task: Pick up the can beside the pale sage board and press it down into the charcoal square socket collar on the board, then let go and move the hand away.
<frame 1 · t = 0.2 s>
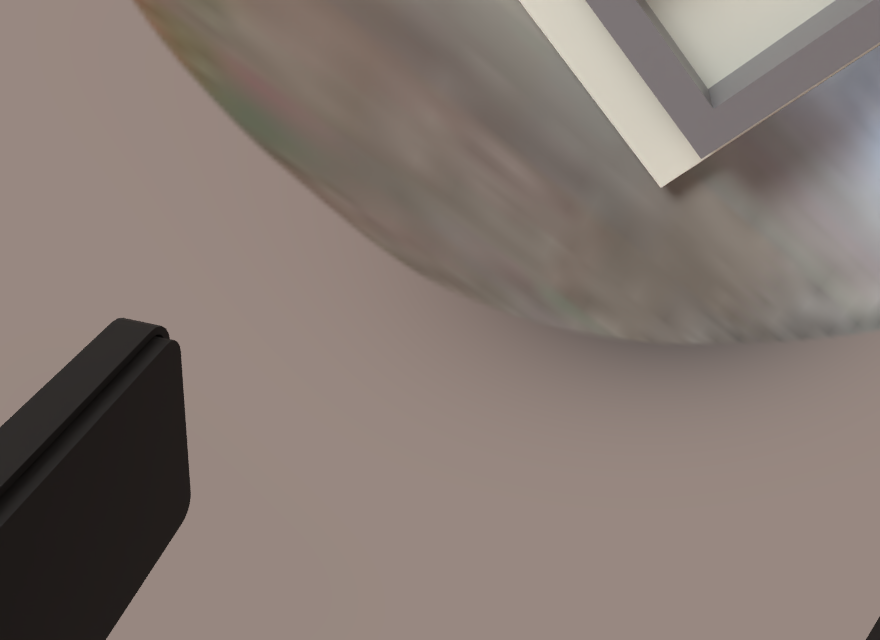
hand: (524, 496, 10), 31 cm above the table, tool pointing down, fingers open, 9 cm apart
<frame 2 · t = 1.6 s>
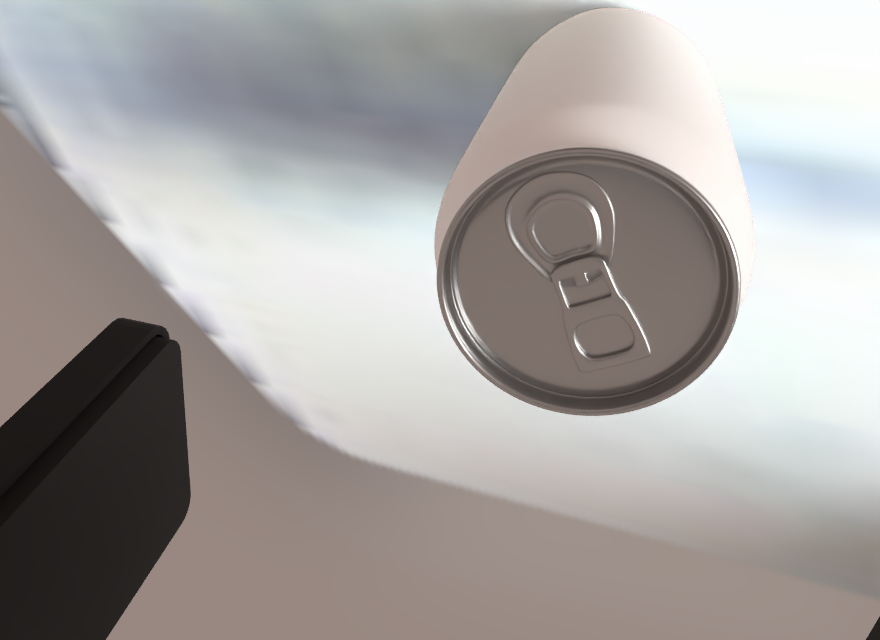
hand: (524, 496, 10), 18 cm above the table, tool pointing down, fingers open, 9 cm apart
can: (608, 112, 26), on the table
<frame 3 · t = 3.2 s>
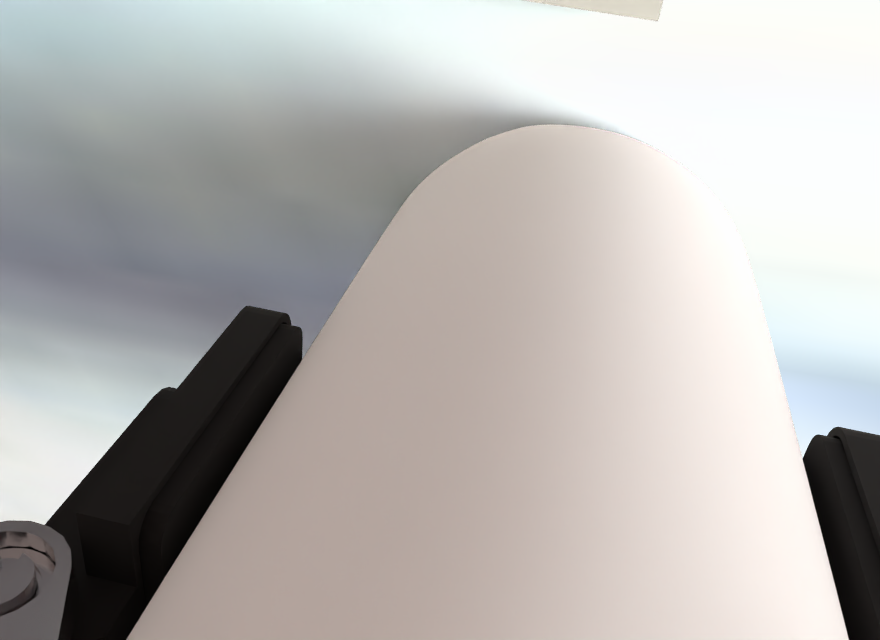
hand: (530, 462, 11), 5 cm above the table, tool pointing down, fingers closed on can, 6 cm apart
can: (560, 288, 15), on the table, touching gripper
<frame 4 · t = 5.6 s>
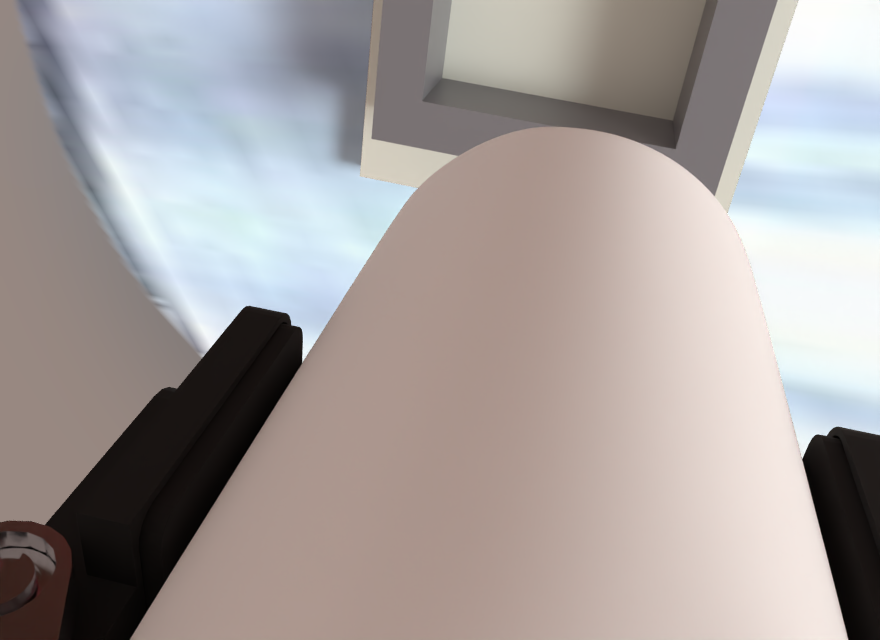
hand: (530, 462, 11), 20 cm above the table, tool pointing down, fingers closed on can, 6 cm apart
can: (560, 290, 15), point 15 cm above the table, touching gripper
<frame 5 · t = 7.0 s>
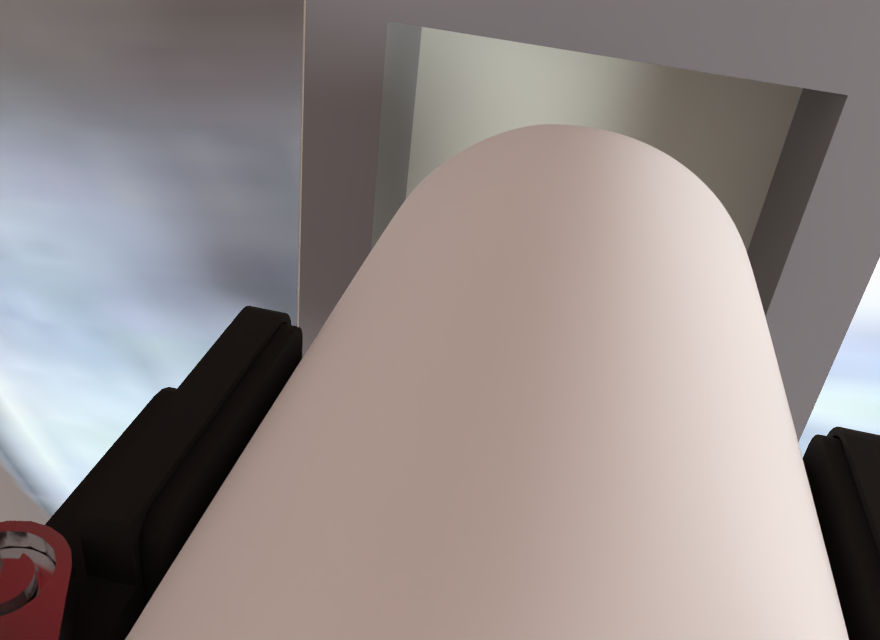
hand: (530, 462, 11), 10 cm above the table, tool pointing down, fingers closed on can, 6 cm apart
can: (560, 288, 15), point 5 cm above the table, touching gripper
socket board: (579, 186, 19), on the table
when the fingers open (7 cm above the table, at t = 8.1 s): can drops 1 cm, resting on socket board.
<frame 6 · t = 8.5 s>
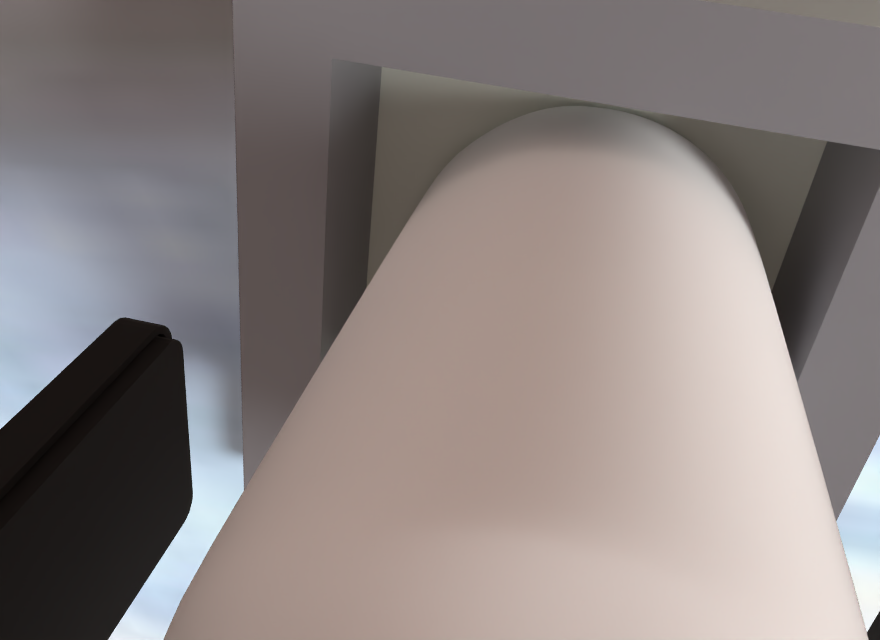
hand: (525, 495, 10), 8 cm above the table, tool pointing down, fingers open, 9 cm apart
can: (577, 260, 16), point 1 cm above the table, touching socket board
socket board: (568, 236, 17), on the table
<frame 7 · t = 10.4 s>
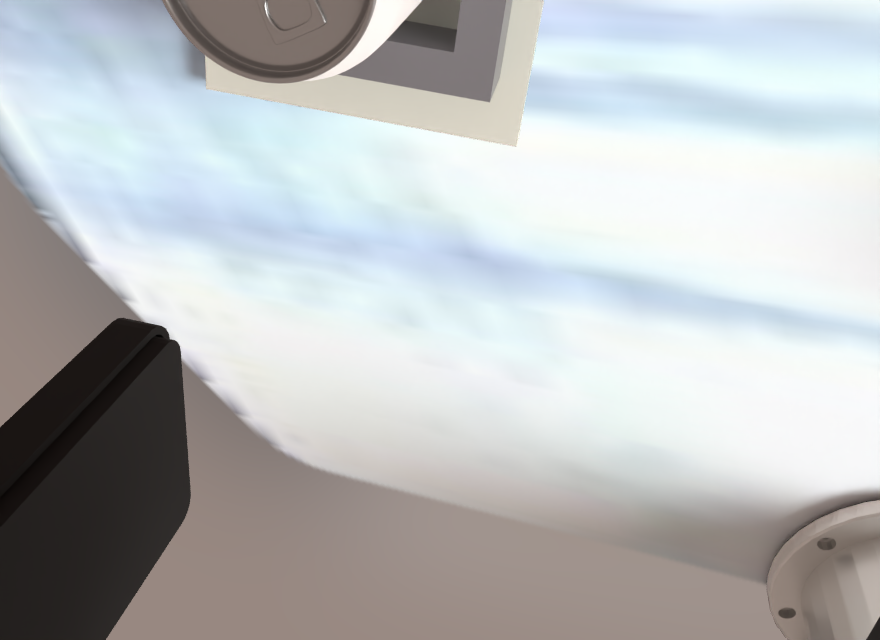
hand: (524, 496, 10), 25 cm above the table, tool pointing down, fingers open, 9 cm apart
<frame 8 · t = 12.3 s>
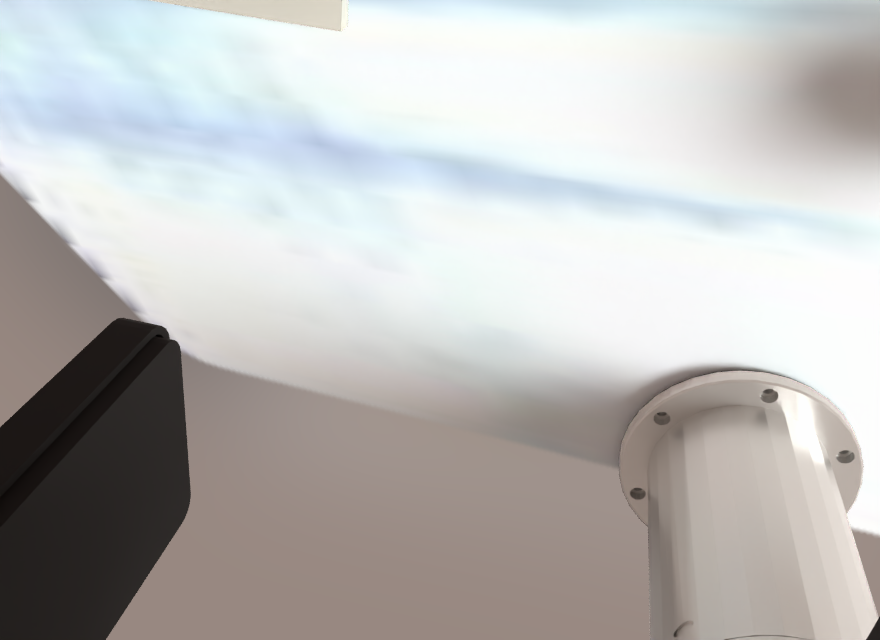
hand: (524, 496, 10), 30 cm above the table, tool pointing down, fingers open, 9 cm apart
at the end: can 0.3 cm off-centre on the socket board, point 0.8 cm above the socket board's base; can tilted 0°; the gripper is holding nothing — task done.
